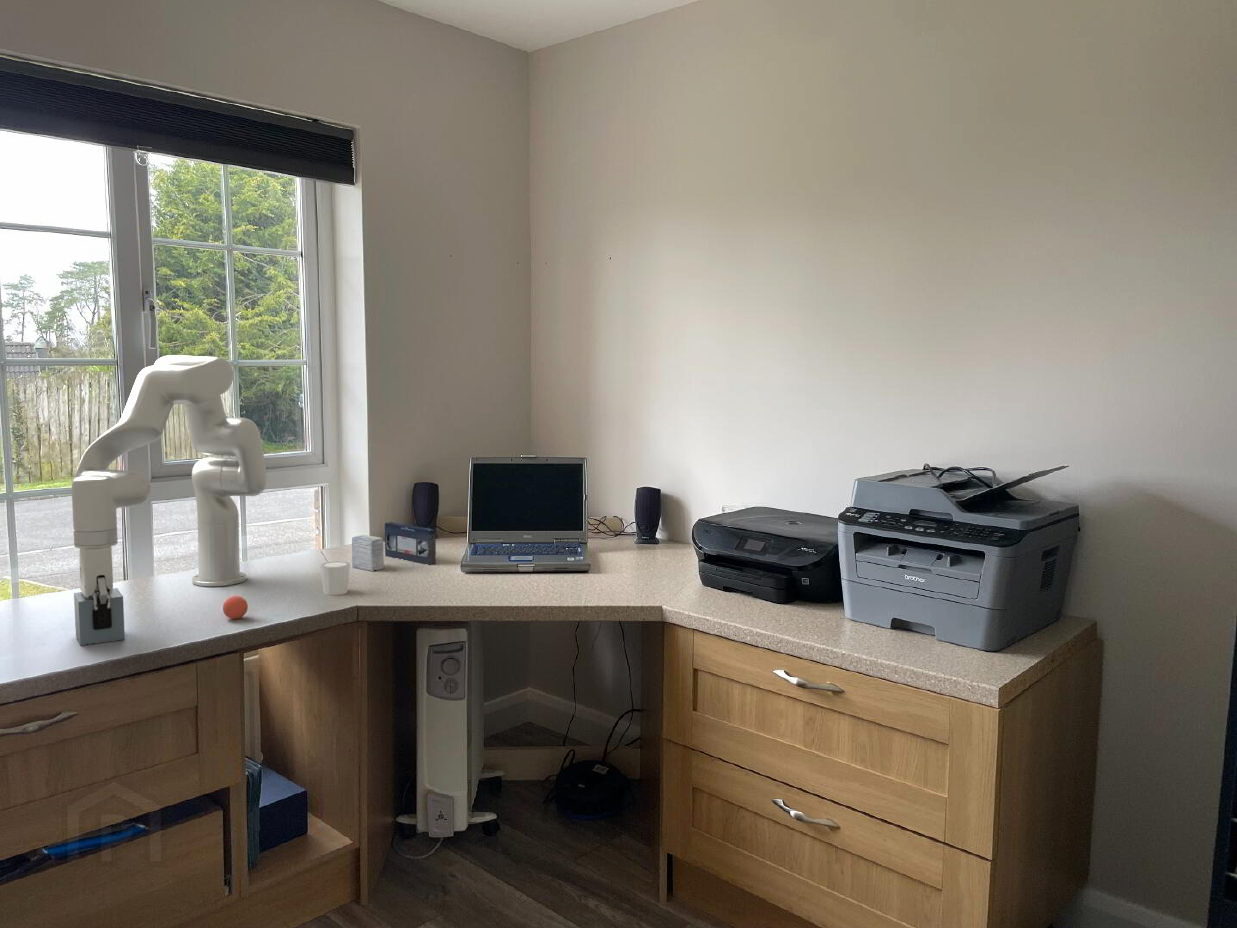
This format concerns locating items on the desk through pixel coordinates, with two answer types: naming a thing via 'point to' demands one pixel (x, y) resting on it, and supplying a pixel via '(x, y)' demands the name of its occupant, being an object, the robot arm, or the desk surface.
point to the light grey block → (367, 552)
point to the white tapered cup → (335, 577)
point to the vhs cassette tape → (410, 543)
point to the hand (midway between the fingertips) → (99, 622)
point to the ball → (235, 607)
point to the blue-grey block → (85, 619)
